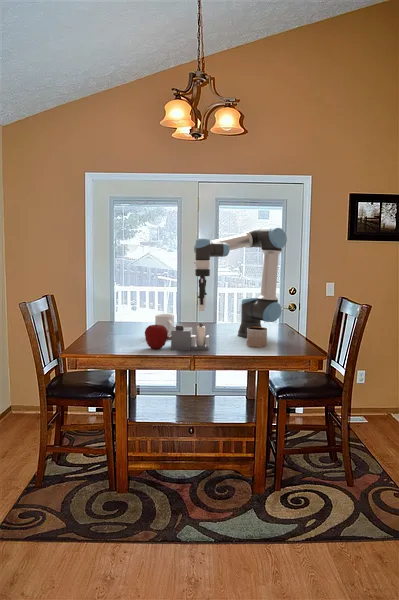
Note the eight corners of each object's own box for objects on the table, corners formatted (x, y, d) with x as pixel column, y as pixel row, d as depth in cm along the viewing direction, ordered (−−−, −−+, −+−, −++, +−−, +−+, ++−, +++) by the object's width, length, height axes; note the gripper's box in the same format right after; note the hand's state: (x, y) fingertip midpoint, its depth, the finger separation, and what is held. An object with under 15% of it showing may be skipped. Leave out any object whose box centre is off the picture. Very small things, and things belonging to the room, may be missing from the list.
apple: (148, 351, 241) (148, 325, 240) (142, 347, 252) (141, 322, 250) (171, 349, 246) (170, 324, 245) (163, 345, 257) (163, 321, 255)
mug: (180, 339, 276) (181, 316, 274) (164, 340, 270) (164, 318, 268) (168, 334, 288) (168, 313, 287) (151, 336, 282) (151, 314, 281)
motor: (208, 346, 257) (209, 324, 256) (208, 350, 246) (208, 327, 244) (168, 344, 259) (168, 323, 257) (165, 349, 247) (165, 326, 245)
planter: (261, 348, 254) (262, 330, 252) (243, 346, 259) (243, 328, 258) (269, 345, 263) (270, 327, 262) (252, 342, 268) (252, 325, 267)
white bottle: (205, 344, 254) (205, 322, 252) (204, 346, 249) (205, 323, 248) (196, 344, 254) (197, 322, 253) (196, 346, 250) (196, 323, 248)
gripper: (196, 267, 260) (196, 305, 263) (193, 269, 236) (193, 312, 238) (210, 267, 260) (210, 306, 263) (209, 269, 235) (208, 312, 238)
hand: (202, 309), depth 250 cm, fingers open, 13 cm apart
